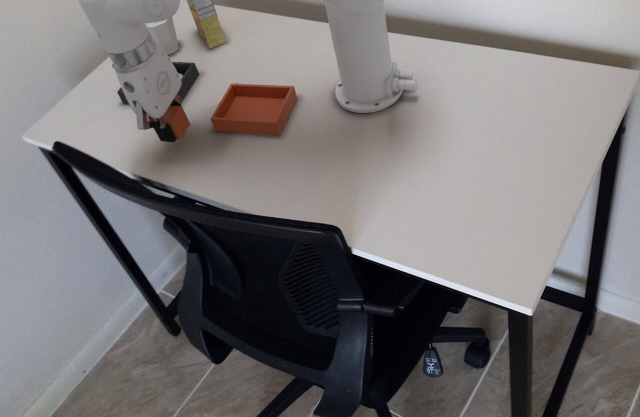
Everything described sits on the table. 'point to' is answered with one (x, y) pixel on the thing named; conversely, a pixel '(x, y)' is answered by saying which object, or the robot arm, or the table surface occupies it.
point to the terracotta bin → (254, 109)
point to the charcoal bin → (187, 80)
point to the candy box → (207, 22)
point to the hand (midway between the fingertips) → (174, 130)
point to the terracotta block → (176, 121)
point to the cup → (164, 34)
